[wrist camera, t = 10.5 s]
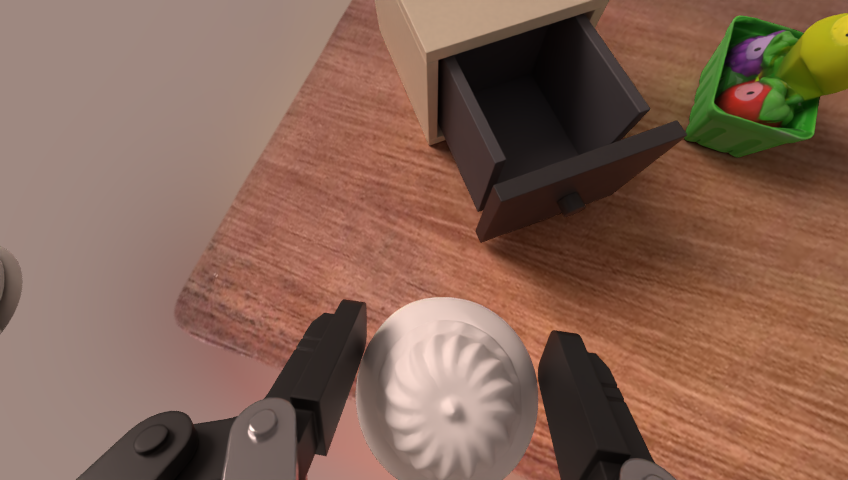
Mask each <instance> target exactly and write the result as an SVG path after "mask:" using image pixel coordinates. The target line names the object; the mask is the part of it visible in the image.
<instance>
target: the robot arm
mask: <svg viewBox="0 0 848 480" xmlns="http://www.w3.org/2000/svg"><path fill="white" fill-rule="evenodd" d="M366 337H367V319H366V303H365V302H359V301H352V300H345V299H344V300H342V301H341V303H340V305H339V306H338V308H337V310H336V312H335V314H329V313H323V314H322V315H321V316H320V317H318V318H317V319H316V320H315V321H313V322H312V323H311V324H310V326H309V328H308V329H307V331H306V332H305V334H304V336H303V339H301V341H300V342H299V344H298V346H297V348H296V350H294V352H293V354H292V355H291V357H290V359H289V360H288V362H287V363H286V365H285V367H284V368H283V370H282V372H281V373H280V375H279V376H278V378H277V380H276V381H275V383H274V385H273V386H272V388H271V389H270V391H269V393H268V394H267V396H266V397H265V398H264V399H263V400H260V401H257V402H255V403H254V404H252V405H250V406H249V407H247V408H246V409H245V410H244V411H243V412H242V413H241V414H240V415H239V416H236V417H233V418H229V419H224V420H218V421H211V422H205V423H198V424H193V423H192V421H191V419H190V417H189V416H188V415H187V414H185V413H183V412H179V411H168V412H163V413H159V414H156V415H154V416H151V417H149V418H147V419H146V420H144V421H142V422H140V423H139V424H137V425H136V426H135V427H134V428H132V429H131V430H130V431H128V432H127V433H126V434H125V435H124V436H123V437H122V438H121V439H120V440H119V441H118V442H116V443H115V444H114V445H113V446H112V447H111V448H110V449H109V450H108V451H107V452H105V453H104V455H102V456H101V457H100V458H99V459H98V460H97V461H96V462H95V463H94V464H92V465H91V466H90V467H89V468H88V469H87V470H86V471H85V472H84V473H83V474H82V475H80V476H79V477H78V478H77V479H76V480H307V473H308V470H309V468H310V465H311V463H312V460H313V458H314V455H315V454H318V455H323V456H326V455H327V453H328V450H329V447H330V444H331V442H332V439H333V436H334V433H335V431H336V428H337V425H338V422H339V420H340V417H341V414H342V411H343V409H344V406H345V403H346V400H347V398H348V395H349V392H350V389H351V387H352V384H353V381H354V378H355V376H356V373H357V370H358V367H359V365H360V362H361V359H362V356H363V353H364V350H365V345H366ZM538 381H539V386H540V390H541V395H542V399H543V403H544V408H545V412H546V417H547V421H548V425H549V430H550V434H551V438H552V443H553V447H554V451H555V456H556V460H557V464H558V469H559V473H560V477H561V480H676V479H675V478H674V477H673V476H672V475H671V474H670V473H669V472H667V471H666V470H665V469H663V468H662V467H660V466H659V465H657V464H655V462H654V460H653V459H652V457H651V455H650V453H649V450H648V448H647V446H646V444H645V442H644V440H643V438H642V436H641V434H640V432H639V430H638V427H637V425H636V423H635V421H634V419H633V417H632V415H631V413H630V411H629V409H628V407H627V404H626V403H625V402H624V398H623V396H622V394H621V392H620V390H619V388H617V384H616V381H615V379H614V377H613V375H612V373H611V371H610V369H609V368H608V367H607V365H606V364H605V363H604V362H603V361H602V360H601V359H600V358H599V357H598V356H597V354H595V353H589V352H587V350H586V348H585V345H584V343H583V341H582V338H581V336H580V335H579V334H576V333H569V332H562V331H555V330H553V331H552V332H551V333H550V336H549V338H548V341H547V344H546V346H545V349H544V352H543V354H542V357H541V360H540V362H539V367H538Z"/></svg>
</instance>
